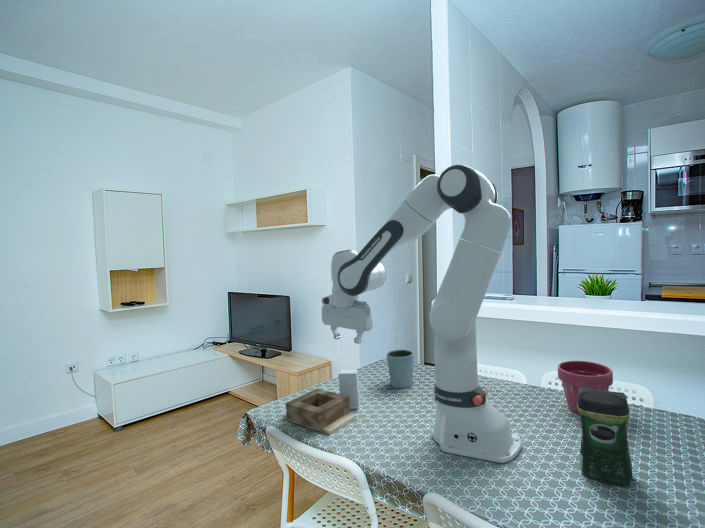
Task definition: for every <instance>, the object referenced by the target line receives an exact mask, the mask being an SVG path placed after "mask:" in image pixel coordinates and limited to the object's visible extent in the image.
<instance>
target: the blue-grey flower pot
mask: <svg viewBox="0 0 705 528" xmlns="http://www.w3.org/2000/svg"><path fill="white" fill-rule="evenodd" d="M386 361H387V366H388V374H389V382H390V385H392V386H391V387H393V388H396V389H407V388H411V387H413V385H414V351H412V350H409V349H394V350H390V351H387V352H386Z"/></svg>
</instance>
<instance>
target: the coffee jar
mask: <svg viewBox="0 0 705 528" xmlns="http://www.w3.org/2000/svg"><path fill="white" fill-rule="evenodd" d="M627 399H628V398H627V396H626V394H625V393H624V392H621V391H620V392H618V391H610V390H608V391H604V390H596V389H589V388H584V387H583V388H581V389H580V391H579V396H578V403H577V409H578V412H579V413H578V414H579V416H580V424H581V425H580V426H581V429H580V430H581V435H580V451H579V452H580V453H579V469H580V471H581V473H582V474H584V475H585V476H586V477H588V478H590V479H593V480H597V481H600V482H605V483H609V484H612V485H616V486H617V485H618V486H626V485H629V484H631V483H632V481H633V465H632V461H631V460H632V459H631V454H630V449H629V447H630V446H629V442H628V441H629V440H628V429H627V424H628V422H629V419H630V415H631V414H630V407H629V404H628V400H627Z"/></svg>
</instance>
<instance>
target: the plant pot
mask: <svg viewBox="0 0 705 528" xmlns="http://www.w3.org/2000/svg"><path fill="white" fill-rule="evenodd" d="M557 377H558V380H560V381H561V383H562V388H563V392H564V396H565V399H566V402H567V407H568V409H570V410H571V412H574V413H576V414H579V412H578V409H577V403H578V396H579V391H580V389H581V388H583V387H584V388H589V389H596V390H604V391H610V390H609V389H610V387H611V386H612V385H613V383H614V373H613V370H612V368H611V367H609V366H607V365H606V364H602V363H599V362H594V361H586V360H566V361H562V362H560V363H558V365H557Z"/></svg>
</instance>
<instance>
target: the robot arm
mask: <svg viewBox="0 0 705 528" xmlns="http://www.w3.org/2000/svg"><path fill="white" fill-rule="evenodd" d="M498 200H499V192H498V190H497V187H496V186H495V184H494V183H493V182H492V181H490V180H489V179H488V178H487V177H486V176H485V175H484V173H481V172H480V171H478V170H476V169H474V168H473V167H471V166H470V165H465V164H454V165H450V166H449V167H447V168H446V169H445V170H443V171H442V172H441V174H440V175H438V174H429V175H427V176H426V177H424V178H423V179H422V180H421V181H420V182H418V183H417V185H416V186H415V187H414V188H413V189H412V190H411V191H410V192H409V193H408V194H407V196H406V197H405V198H404V199H403V201H402V202H401V204H399V206H398V207H397V208H396V210H395V211H394V212H393V213H392V214H391V217H389V218H388V219H387V221H386V222H385V223H384V225H382V226H381V228H379V230H378V231H377V232H376V233H375V235H373V236H372V237H371V238H370V239H369V241H368V242H367V243H366V244H365V246H364V247H363V248H362V249H361V250H360V251H359V253H358V252H357V251H356V250H355V249H346V250H341V251H337V252H335V253H334V254H333V255H332V257H331V264H330V267H331V268H330V273H331V274H330V276H331V282H332V287H331V294H330V295H326V296H324V297H322V298H321V304H322V306H321V321H322V323H323V325H324V326H330V330H331V332H332V334H333V340H340V339H341V333H339V331H338V328H344V329H348V330H355V334H357V335H356V336H355V337H354V338H353V342H354V344H361V343H362V337H363V335H364V332H369V331H371V330H372V329H373V327H374V326H373V325H374V324H373V322H374V321H373V315H372V311H371V306H370V304H369V303H368V302H367V301H364V300H363V301H361V300H360V295H361V294H363V293H366V292H370V291H373V290H376V289H379V288H380V287H382V286H383V285H384V284H385V282H386V279H387V270H386V268H385V266H384V265H383V264H382V263H381V262H382V261H383V260H384V259H385V258H386V257H387V255H388V254H389V253H390V252H392V251H393V250H394V249H396V248H397V247H399V246H402V245H404V244H406V243H409V242H412V241H415V240H417V239H419V238H421V237H422V236H423V235H425V234H426V232H428V231H429V230H430V229H431V228H432V227H433V226H434V224H435V223H436V222H437V220H438V219H439V218H440V217H441V215H442V214H444V212H446V211H447V210H450V209H453V210H454V211H456V212H457V213H458V214H462V216H463V217H464V224H463V225H464V226H463V228H462V231H461V234H460V236H459V239H458V241H457V244H456V246H455V249H454V251H453V254H452V257H451V259H450V262H449V265H448V267H447V270H446V271H445V275H444V277H443V279H442V281H441V283H440V286H439V289H438V290H437V293H436V296H435V298H434V301H433V303H432V306H431V308H430V311H429V315H428V316H429V325H430V327H431V329H432V331H433V332H434V357H433V358H434V374H435V375H434V376H435V383H434V392H433V393H434V402H435V419H434V425H433V430H432V433H431V434H432V435H431V436H432V438H433V440H434V441H435V442H436V444H438V445H439V447H440V450H441V451H442V452H444V453H448V454H453V455H458V456H463V457H469V458H474V459H480V460H483V461H484V460H485V461H489V462H495V463H500V464H505V463H508V462H510V461H512V460H514V459H515V458H516V457H517V456H518V455H519V453H520V452H521V450H522V446H523V445H522V439H521V437H520V436H519V435H518V434H515V433H513V432H512V428H511V424H510V421H509V419H508V418H507V416H506V415H504V414H503V413H502V412H500V411H499V410H498V409H497V408H495V407H494V405H492V404H491V403H490V402H489V401H487V394H488V392H489V391H488V388H485V389H483V388H482V387H481V386H480V384H479V374H478V373H479V372H478V357H477V352H478V351H477V323H476V320H477V317H478V315H479V312H480V309H481V307H482V304H483V301H484V298H485V297H486V293H487V291H488V288H489V284H490V282H491V280H492V277H493V275H494V272H495V270H496V267H497V265H498V262H499V260H500V257H501V255H502V252H503V250H504V247H505V245H506V240H507V237H508V235H509V229H510V225H511V215H510V213H509V211H508V210H507V209H506V208H505V207H503V206H502V205H500V204H498Z"/></svg>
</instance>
